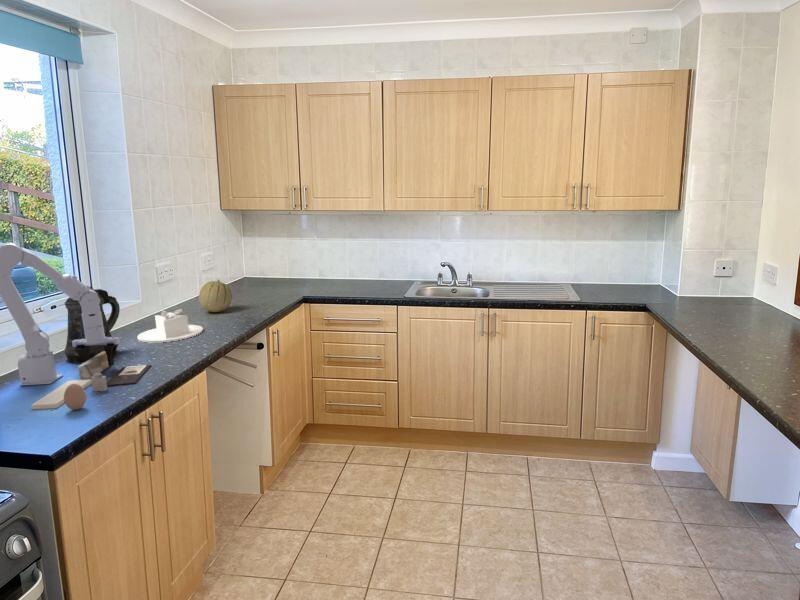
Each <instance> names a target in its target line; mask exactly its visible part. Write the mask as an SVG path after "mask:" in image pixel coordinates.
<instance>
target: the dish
mask: <svg viewBox="0 0 800 600" xmlns="http://www.w3.org/2000/svg"><path fill="white" fill-rule="evenodd" d="M182 312H183V309H181V308H179V309H176V310H174V312H172V311H171V312H168V311H167V310H161V313H160V315H159V314H157V315H156V314H155V315H154V318H155V319H154V322H155V325H156V326H155V328H151V329H148V330H145V331H142V332H140V333H139V334H137V336H136V337H137V341H138V340H139V341H138V342H140V341H142V342H148V343H147V344H164V343H163V342H167V343H172V342H171V341H175V342H179V341H178V340H180V341H183V340H182V339H185V340H188V339H187V338H189V339H191V338H190V337H192V338H194V337H193V336H195V337H196V335H197V336H199V335H201V334H202V333H203V332H204V328H203V327H202V325H197V324H189V319H188V315H185V314H184V315H179V314H180V313H182ZM202 331H203V332H202ZM201 332H202V333H201ZM200 333H201V334H200ZM198 334H199V335H198ZM142 342H141V343H142Z"/></svg>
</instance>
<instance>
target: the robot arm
mask: <svg viewBox="0 0 800 600" xmlns="http://www.w3.org/2000/svg"><path fill="white" fill-rule="evenodd" d="M19 263H20V267H29V268H33V269H34V270H36V271H38V272H39V273H41V274H42V275H43V276H45V277H47V278H48V279H49V280H52V281H53V282H54V283H55V287H56V289H57V290H58V291H60V292H62V293H63V294H64V295H66V296H67V297H68V298H69V297H70V298H72V299H73V300H78V301H79V303H80V305H81V309H82V320H83V326H84V332H85V338H86V339H78V340H74V341H72V345H73V347H76V349H75V351H76V352H77V353H78V354H79V355H80V357H81V358H82V360H83V362H84V363H85V362H86V361H88V360H90V345H106V344H107V345H106V346H105V347H104V349H105V352H106V355H107V359H108V365H109V367H112V366H114V364H115V356H116V353H117V349H118V346H119V344H120V343H121V340H120V337H118V336H112V337H105V333H104V327H103V320H102V314H101V311H100V306H99V304H100V299H99V296H98V294H97V293H96V292H95V291H94V290H93V289H94V288H93V289H90V287H91V286H90V285H86V284H85V283H83V282H82V281H80V280H78V276H76V275H75V274H73V275H72V274H70V273H65V274H63V273H61V272H60V271H58V270H57V269H56V268H54V267H53V266H52V265H50V264H49V263H47V262H46V261H45V260H44V259H42V258H41V257H39V256H38V255H37V254H35V253H33V252H32V251H30V250H28V249H26V248H25V247H23V248H22V246H20V245H19V244H17V243H15V242H5V243H3V244H2V245H0V297H1V300H2V301H3V303H4V305H5V307H6V308H7V310H8V312H9V313H10V315H11V317H12V318H13V320H14V322H15V324H16V325H17V327H18V328H19V331H20V333H21V336H22V338H23V340H24V342H25V345H24V347H25V348H24V349H25V351H26V352H25V354H22V355H20V357H19V358H18V360H17V368H18V375H19V379H20V383H19V385H20V386H33V385H34V386H36V385H50V384H52V383H54V382H55V381H57V380H58V379H60V378H63V376H64V374H63V373H60V374H57V369H56V362H55V359H54V358H55V357H54V353H53V349H51V348H50V338H49V335H48V334H47V333H46V332H45V331H43V330H42V329H41V328H40V327H39V325H38V323H37V322H36V321H35V319H34V317H33V315H32V313H31V311H30V310H29V308H28V306H27V304H26V303H25V301H24V299H23V297H22V296H21V294H20V292H19V290H18V288H17V287H16V285H15V283H14V282H13V279H12V278H11V275H12V272H13V271H14V268H15V267H16V266H18V265H19ZM115 352H116V353H115Z"/></svg>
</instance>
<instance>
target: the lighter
mask: <svg viewBox="0 0 800 600" xmlns="http://www.w3.org/2000/svg"><path fill="white" fill-rule="evenodd" d="M80 368H81V370H82V372H83V373H84V375H85V377H86V378H87V379H89V378H91V383H92V384H91V388H92V392H98V391H101V392H100V393H103V392H102V391H105V392H106V390H107V391H108V390H109V389H108V388H109V387H107V382H108V381H107V376H106V375H103V374H102V373H101V372H100V373H95V374H93V372H92V371H91V369H90V367H89V366H88V364H85V365H83V366H81V367H80Z"/></svg>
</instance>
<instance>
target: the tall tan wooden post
mask: <svg viewBox="0 0 800 600" xmlns="http://www.w3.org/2000/svg"><path fill="white" fill-rule="evenodd" d="M85 364H88V366H89V367H90V369H91V371H92V372H93V374H95V373H101V372H103V371H104V370H106V369H107V368H109V367H110V366H109V365H108V359H107V355H106V352H105V351H102V352H101V353H99V354H98V355H96V356H94V357H93V358H91V359H90V360H88V361H86V362H85V363H80V365H78V366H77V367H78V372H79V378H80V379H79V380H88V379H87V378H86V377H85V375H84V373H83V372H82V370H81V368H80V367H81V366H83V365H85ZM89 379H91V378H89Z"/></svg>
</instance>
